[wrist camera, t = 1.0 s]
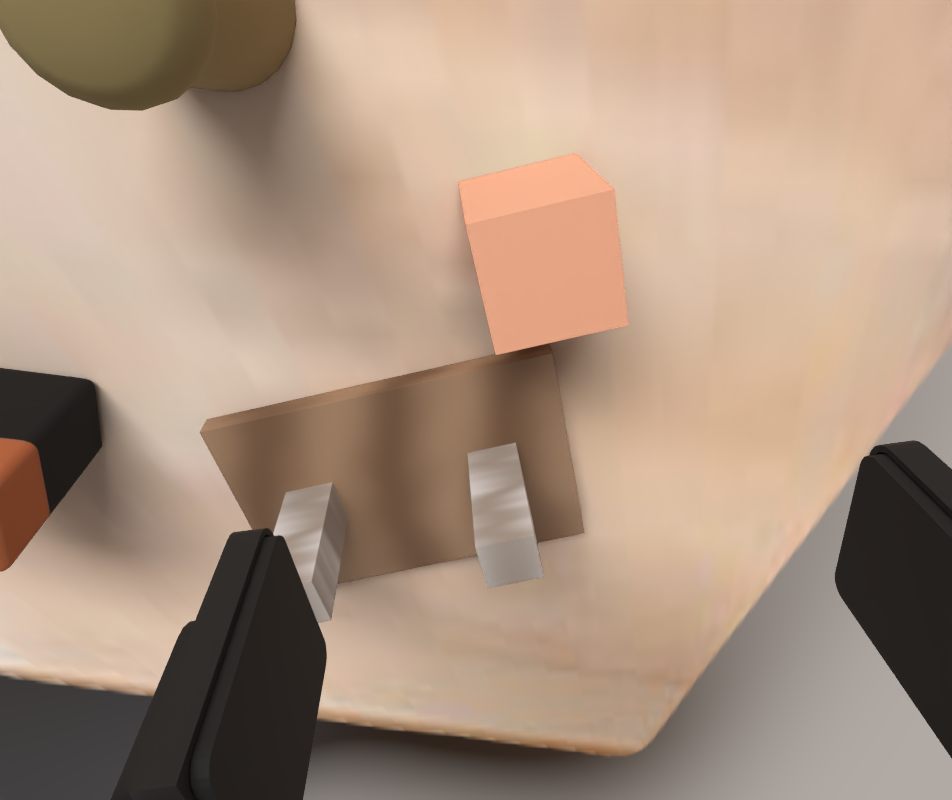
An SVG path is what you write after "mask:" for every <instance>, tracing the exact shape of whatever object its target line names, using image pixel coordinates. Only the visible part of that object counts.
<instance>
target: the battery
mask: <svg viewBox="0 0 952 800" xmlns="http://www.w3.org/2000/svg"><path fill="white" fill-rule="evenodd" d="M101 446H102V442H101V434H100V426H99V418H98V410H97V403H96V395H95V388H94V385H93V383H92V382H91V381H90V380H87V379H83V378H76V377H68V376H60V375H52V374H44V373H36V372H28V371H20V370H12V369H4V368H0V571H4V570H6V569H8V568H9V567H10V566H11V565H12V564H13V563H14V561H15V560H16V559H17V557H18V556H19V555H20V553H21V552H22V551H23V550H24V548H25V547H26V546H27V544H28V543H29V542H30V540H31V539H32V538H33V536H34V535H35V534H36V533H37V531H38V530H39V529H40V527H41V526H42V525H43V523H44V522H45V521H46V519H47V518H48V517H49V515H50V514H51V513H52V512H53V510H54V509H55V508H56V506H57V505H58V504H59V502H60V501H61V500H62V498H63V497H64V496H65V495H66V493H67V492H68V491H69V489H70V488H71V487H72V485H73V484H74V483H75V481H76V480H77V479H78V477H79V476H80V475H81V474H82V472H83V471H84V470H85V468H86V467H87V466H88V464H89V463H90V462H91V460H92V459H93V458H94V456H95V455H96V454H97V453H98V451H99V450H100V448H101Z"/></svg>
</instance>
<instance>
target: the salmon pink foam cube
mask: <svg viewBox="0 0 952 800" xmlns="http://www.w3.org/2000/svg"><path fill="white" fill-rule="evenodd" d="M458 183H459V189H460V195H461V201H462V207H463V213H464V219H465V225H466V229H467V234H468V238H469V242H470V247H471V251H472V255H473V260H474V264H475V268H476V273H477V277H478V281H479V286H480V290H481V294H482V299H483V303H484V307H485V312H486V316H487V320H488V325H489V329H490V333H491V338H492V342H493V346H494V351H495V355H499V354H503V353H507V352H512V351H516V350H521V349H525V348H530V347H534V346H539V345H543V344H547V343H552V342H556V341H561V340H565V339H570V338H574V337H578V336H583V335H587V334H592V333H596V332H601V331H605V330H610V329H614V328H618V327H623V326H627V325H628V315H627V306H626V296H625V287H624V277H623V267H622V258H621V248H620V239H619V229H618V220H617V210H616V201H615V191H614V188H613V187H612V186H610V185H609V184H608V183H607V182H606V181H605V180H604V179H603V178H602V177H601V176H600V175H599V174H598V173H597V172H596V171H595V170H594V169H593V168H592V167H591V166H589V165H588V164H587V163H586V162H585V161H584V160H583V159H582V158H581V157H580V156H579V155H578V154H577V153H575V154H571V155H567V156H563V157H559V158H555V159H551V160H547V161H542V162H538V163H534V164H530V165H526V166H522V167H518V168H514V169H510V170H505V171H501V172H497V173H493V174H489V175H485V176H481V177H477V178H472V179H468V180H464V181H460V182H458Z"/></svg>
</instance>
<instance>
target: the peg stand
mask: <svg viewBox="0 0 952 800" xmlns="http://www.w3.org/2000/svg"><path fill="white" fill-rule="evenodd" d="M200 434H201V436H202V438H203V440H204V441H205V443H206V445H207V447H208V449H209V451H210V452H211V454H212V456H213V458H214V460H215V462H216V463H217V465H218V467H219V469H220V471H221V473H222V474H223V476H224V478H225V480H226V482H227V484H228V485H229V487H230V489H231V491H232V493H233V495H234V496H235V498H236V500H237V502H238V504H239V506H240V507H241V509H242V511H243V513H244V515H245V517H246V518H247V520H248V522H249V524H250V526H251V528H252V529H253V530H255V529H263V528H269V529H270V530H271V531H272V533H273V535H274V536H278V535H282V536H283V537H284V539H285V541H286V543H287V546H288V548H289V551H290V553H291V556H292V559H293V561H294V564H295V566H296V569H297V571H298V574H299V576H300V579H301V581H302V584H303V587H304V589H305V592H306V594H307V597H308V599H309V602H310V604H311V607H312V610H313V612H314V615H315V617H316V620H317V622H318V623H319V622H324V621H329V620H331V618H332V612H333V606H334V600H335V594H336V588H337V584H338V583H343V582H348V581H353V580H358V579H363V578H367V577H372V576H377V575H382V574H387V573H392V572H397V571H401V570H406V569H411V568H416V567H421V566H426V565H431V564H435V563H440V562H445V561H450V560H455V559H460V558H465V557H469V556H474V555H478V558H479V561H480V565H481V568H482V571H483V575H484V578H485V581H486V584H487V588H492V587H497V586H502V585H507V584H512V583H517V582H522V581H527V580H532V579H537V578H542V577H544V575H543V570H542V565H541V560H540V555H539V550H538V545H537V542H542V541H547V540H552V539H557V538H562V537H566V536H571V535H576V534H581V533H584V528H583V522H582V517H581V511H580V505H579V500H578V494H577V488H576V483H575V477H574V472H573V466H572V460H571V455H570V449H569V443H568V438H567V432H566V427H565V421H564V415H563V410H562V404H561V399H560V393H559V387H558V382H557V376H556V370H555V365H554V359H553V354H552V351H551V348H550V345H549V343H547V344H543V345H539V346H534V347H530V348H525V349H521V350H516V351H512V352H507V353H503V354H499V355H491V356H487V357H482V358H478V359H474V360H469V361H465V362H460V363H456V364H451V365H447V366H443V367H438V368H434V369H429V370H425V371H420V372H416V373H411V374H407V375H403V376H398V377H394V378H389V379H385V380H380V381H376V382H372V383H367V384H363V385H358V386H354V387H349V388H345V389H340V390H336V391H332V392H327V393H323V394H318V395H314V396H309V397H305V398H300V399H296V400H292V401H287V402H283V403H278V404H274V405H269V406H265V407H261V408H256V409H252V410H247V411H243V412H238V413H234V414H229V415H225V416H221V417H216V418H212V419H207V420H206V422H205V424H204V426H203V427H202V429H201V431H200Z"/></svg>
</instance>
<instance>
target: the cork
mask: <svg viewBox="0 0 952 800" xmlns="http://www.w3.org/2000/svg"><path fill="white" fill-rule="evenodd" d="M295 25H296V12H295V1H294V0H0V29H1V31H2V33H3V34H4V36H5V38H6V40H7V41H8V43H9V45H10V46H11V47H12V48H13V49H14V50H15V51H16V52H17V53H18V55H19V56H20V57H21V58H22V59H23V60H24V61H25V62H26V63H27V64H28V65H29V66H30V67H31V68H32V69H33V71H34V72H35V73H36V74H37V75H39V76H40V77H42V78H43V79H45V80H46V81H48V82H49V83H51V84H52V85H54V86H55V87H57V88H58V89H60V90H61V91H63V92H64V93H66V94H67V95H69V96H72V97H74V98H77V99H80V100H83V101H86V102H89V103H92V104H95V105H98V106H100V107H104V108H107V109H111V110H145V109H148V108H151V107H154V106H157V105H160V104H163V103H166V102H169V101H172V100H175V99H177V98H178V97H180V96H181V95H182V94H183V93H184V92H185V91H187V90H188V89H189V88H190V87H193V88H200V89H208V90H218V91H241V90H244V89H247V88H250V87H253V86H256V85H259V84H261V83H262V82H264V81H265V80H266V79H267V78H268V77H270V76H271V75H272V74H273V73H274V72H276V71H277V70H278V69H279V68H280V66H281V64H282V62H283V61H284V59H285V57H286V55H287V54H288V52H289V50H290V48H291V45H292V40H293V35H294V30H295Z"/></svg>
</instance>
